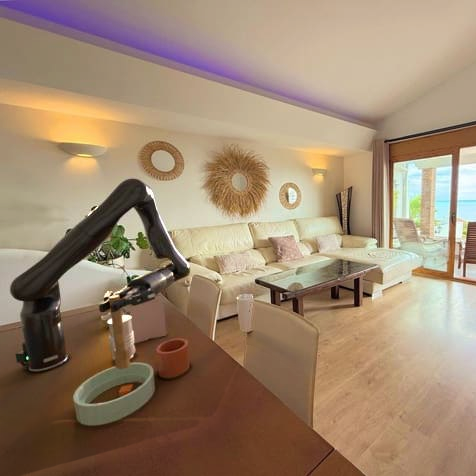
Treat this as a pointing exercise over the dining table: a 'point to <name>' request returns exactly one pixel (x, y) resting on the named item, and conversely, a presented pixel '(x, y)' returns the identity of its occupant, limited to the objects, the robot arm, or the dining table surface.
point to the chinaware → (107, 317)
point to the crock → (172, 358)
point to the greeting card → (148, 320)
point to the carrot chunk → (125, 390)
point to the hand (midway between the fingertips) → (106, 308)
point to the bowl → (117, 407)
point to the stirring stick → (119, 337)
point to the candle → (127, 333)
